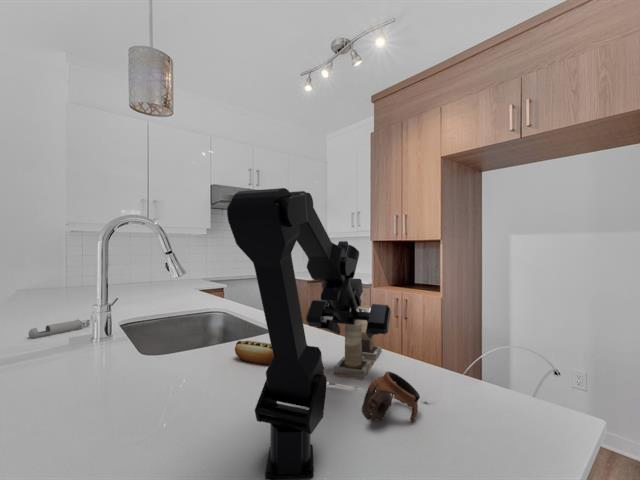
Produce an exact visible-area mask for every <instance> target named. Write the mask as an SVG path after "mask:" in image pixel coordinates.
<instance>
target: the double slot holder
mask: <svg viewBox="0 0 640 480" xmlns="http://www.w3.org/2000/svg"><path fill="white" fill-rule="evenodd" d="M382 352H383V350H382V346H380V345H374V344H373V353H367V352H362V367H361V370H358V369H352V368H345V356H343V357H342V358H341V359H340V360H338V362H337V363H336V364H335V365H334V366H333V373H332V376H335V377H341V378H347V379H348V378H349V379H354V380H359V381H364V379H365V378H366V376H367V375H368V374H369V372H370V371H371V369H372V368H373V366H374V364H375V363H376V362H377V359H378V358H379V356H380V355H381V353H382Z"/></svg>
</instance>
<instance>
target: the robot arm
mask: <svg viewBox="0 0 640 480" xmlns="http://www.w3.org/2000/svg"><path fill="white" fill-rule="evenodd" d="M226 209H227V210H226V218H227V221H228V222H227V223H228V224H229V227H230V231H231V233H232V236H233V239H234V242H235V244H236V245H237V247H238V248H239V249H240V251H242V252H243V254H245V255H246V257H248V259H249V260H250V261H251V262H252V264H253V267H254V272H255V275H256V276H255V277H256V281H257V285H258V286H257V287H258V291H259V295H260V300H261V304H262V308H263V313H264V314H263V315H264V318H265V323H266V328H267V332H268V337H269V342H270V344H271V347H272V351H273V358H272V360H271V362H270V364H268V367H267V369H266V370H265V376H266V378H265V379H266V380H265V382H264V384H263V387H262V390H261V392H260V395H259V398H258V400H257V403H256V405H255V408H254V413H255V418H256V422H259V423H261V422H263V423H265V424H270V435H269V436H270V439H269V440H270V444H269V445H270V446H269V451H268V455H267V461H266V466H265V472H264V477H265V479H266V480H283V479H286V480H287V479H311V478H314V474H315V472H314V469H315V468H314V445H313V444H311V435H312V434H313V433H314V431H315V429H316V428H317V426H318V425H319V424H320V422H321V421H322V419H323V418H324V414H325V413H324V412H325V403H326V395H327V394H326V393H327V386H328V385H327V383H328V382H327V380H328V379H327V376H326V375H325V374H324V370H325V366H324V364H323V363H324V362H323V359H322V358H323V355H322V351H321V349H320V347H318V346H310V345H308V344H307V339H306V334H305V333H306V332H305V327H304V322H303V320H304V319H303V315H302V309H301V306H300V305H301V304H300V299H299V293H298V287H297V280H296V275H295V269H294V263H293V257H292V252H293V249H294V247H295V245H296V242H297V243H298V245H299V246H300V248H301V250H302V251H303V252H304V253H305V255H306V257H307V264H306V269H307V271H308V274H309V275H310V277H311V279H312V280H313V281H319V282H320V281H321V285H320V286H321V293H320V299H313V300H312V301H310V304H309V307H308V310H307V313H306V315H305V321H306V323H307V325H308V326H309V327H314V328H315V327H316V328H317V329H322V330H324V331H327V332H330V333H332V334H334V335H337V336H339V335H340V334H341V328H340V326H339V324H343V325H345V324H351V325H354V323H355V320H356V319H357V320H367V323H368V324H367V329H366V334H367V336H368V337H369V338H370V339H371V338H372V336H373V337H374V336H375V335H377V336H378V335H386V334H388V332H389V329H390V327H389V326H390V320H391V315H392V311H391V307H390V306H389V304H380V303H379V304H378V303H372V304H370V306H371V308H370V309H358V306H361V305H362V300H361V297H362V294H363V292H364V289H363V282H362V279H360V278H355V273H356V270H357V266H358V262H359V257H360V251H359V250H358V249H357V248H356V247H355V246H353V245H351V244H349V242H348V241H347V240H342V241H341V240H340V241H339V240H338V243H337V244H335V243H334V242H332V241H331V239H330V237H329V235H328V233H327V230H326V229H325V227H324V225H323V223H322V221H321V220H320V217H319V215H318V213H317V212H316V210H315V208H314V200H313V197H312V194H311V193H309V192H306V191H304V190H301V191H299V190H298V191H290V190H288V189H287V188H285V187H281V188H280V187H279V188H266V189H252V190H241V191H239V190H238V191H237V192H236V193H235V194H234V195H233V196H232V198H231V201H230V202H229V204H228V206H227V207H226ZM283 403H284V404H283ZM287 404H289V405H287ZM292 405H294V406H292ZM296 406H297V407H296ZM298 406H299V407H298ZM302 407H303V408H302ZM306 408H308V409H306Z"/></svg>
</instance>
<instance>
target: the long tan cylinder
mask: <svg viewBox="0 0 640 480" xmlns="http://www.w3.org/2000/svg"><path fill="white" fill-rule="evenodd" d="M370 308H371V305H368V304H367V305H366V304H365V305H363V304H361V306H358V309H370ZM367 324H368V323H367V320H362V352H367V353H373V345H374V335H373V336H372V338H371V339H370V338H369V337H368V336H367V334H366V329H367Z"/></svg>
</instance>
